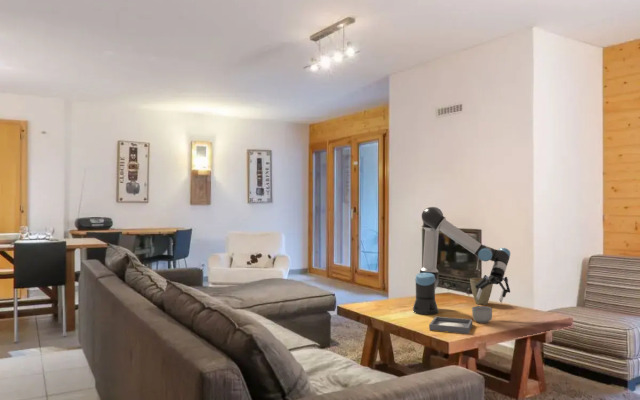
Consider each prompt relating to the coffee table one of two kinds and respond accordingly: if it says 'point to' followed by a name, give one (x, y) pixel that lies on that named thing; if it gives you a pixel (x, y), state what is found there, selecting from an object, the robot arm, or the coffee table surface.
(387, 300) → the coffee table surface
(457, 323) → the tray
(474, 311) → the teacup
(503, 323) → the coffee table surface
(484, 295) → the plant pot
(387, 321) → the coffee table surface
